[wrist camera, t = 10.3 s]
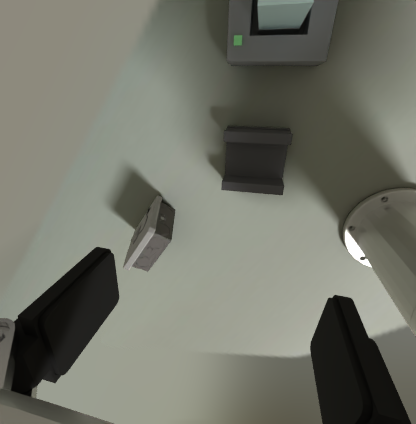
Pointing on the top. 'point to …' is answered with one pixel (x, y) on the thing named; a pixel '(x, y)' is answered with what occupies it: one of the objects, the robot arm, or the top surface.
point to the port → (279, 37)
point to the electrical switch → (151, 236)
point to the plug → (282, 16)
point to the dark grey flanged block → (255, 159)
